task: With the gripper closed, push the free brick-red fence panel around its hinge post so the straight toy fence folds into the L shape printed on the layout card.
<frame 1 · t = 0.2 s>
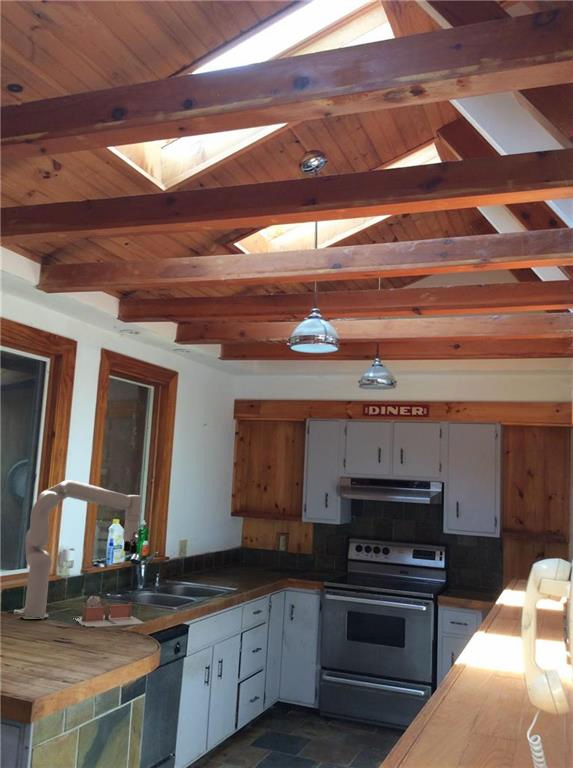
hand: (129, 552, 346), 30 cm above the table, tool pointing down, fingers open, 9 cm apart
fence fixed: (106, 620, 321), resting on layout card
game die: (93, 611, 341), on the table
layout card: (107, 620, 319), on the table
fence panel: (121, 610, 325), point 4 cm above the table, hinge at 0.0°
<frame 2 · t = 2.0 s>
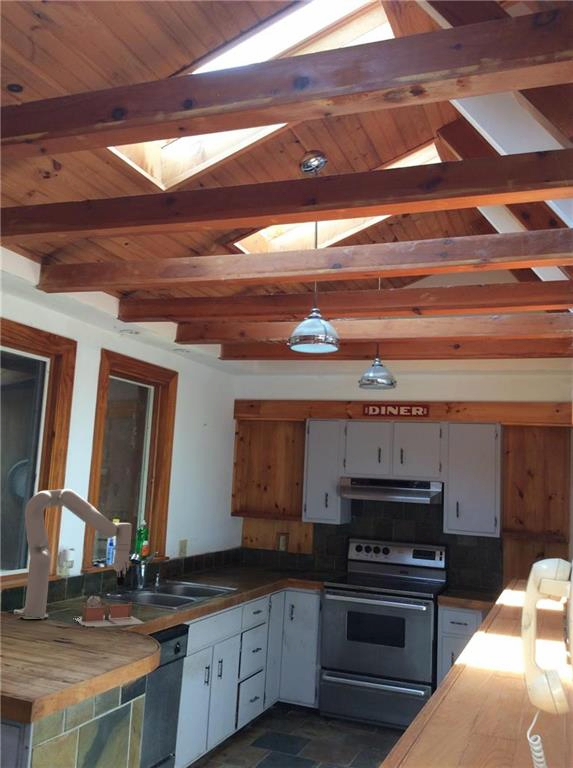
hand: (120, 585, 333), 15 cm above the table, tool pointing down, fingers closed
nothing on the table moved.
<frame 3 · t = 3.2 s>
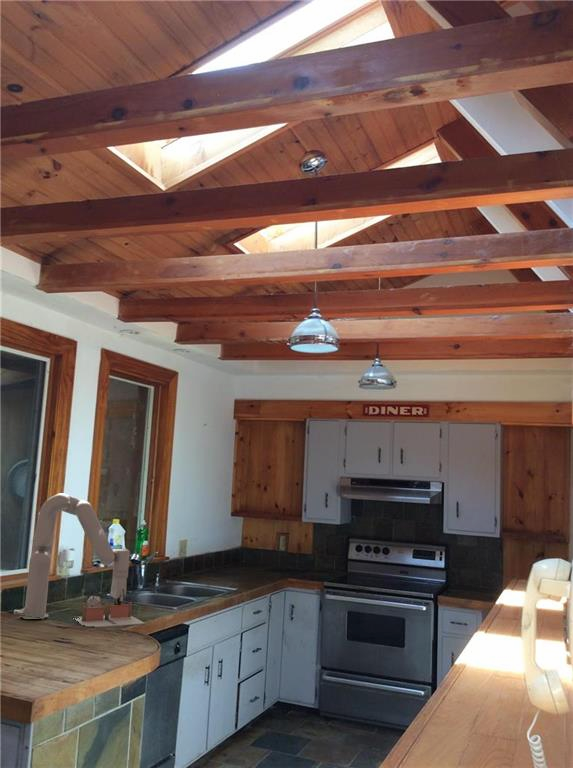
hand: (117, 612, 331), 2 cm above the table, tool pointing down, fingers closed
nothing on the table moved.
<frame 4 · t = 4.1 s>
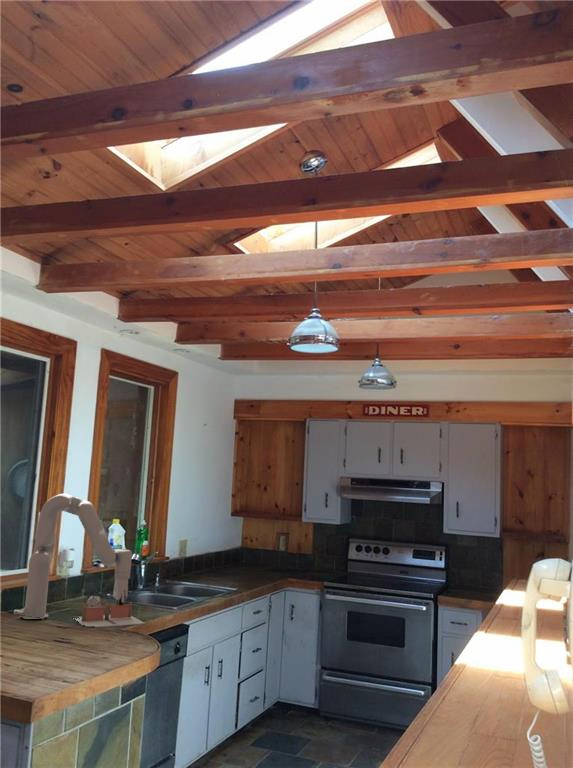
hand: (119, 613, 328), 2 cm above the table, tool pointing down, fingers closed
fence panel: (121, 610, 325), point 4 cm above the table, hinge at 1.3°, touching gripper
everything else where it was.
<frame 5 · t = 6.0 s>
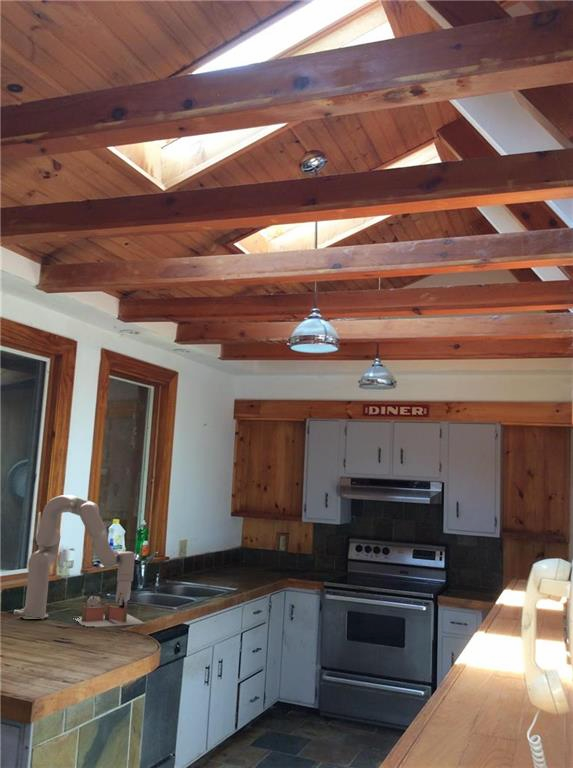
hand: (122, 616, 321), 2 cm above the table, tool pointing down, fingers closed
fence panel: (118, 613, 318), point 4 cm above the table, hinge at 62.3°, touching gripper
everything else where it was.
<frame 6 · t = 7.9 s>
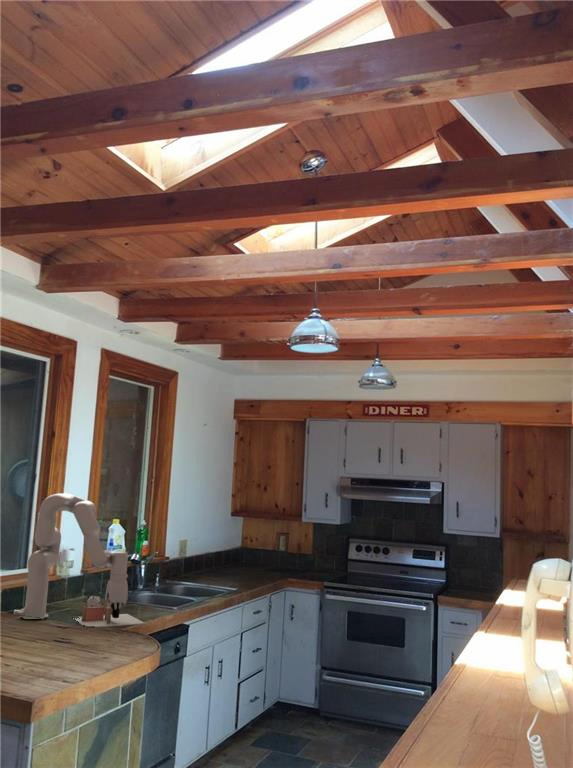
hand: (115, 617, 316), 2 cm above the table, tool pointing down, fingers closed
fence panel: (108, 614, 315), point 4 cm above the table, hinge at 104.8°, touching gripper
everything else where it was.
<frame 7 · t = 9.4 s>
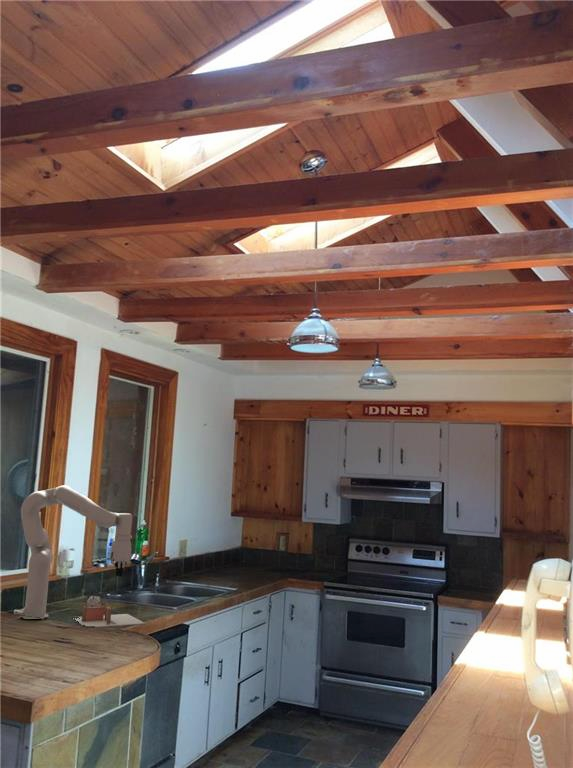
hand: (118, 576, 329), 20 cm above the table, tool pointing down, fingers closed
fence panel: (108, 614, 315), point 4 cm above the table, hinge at 104.9°
everything else where it was.
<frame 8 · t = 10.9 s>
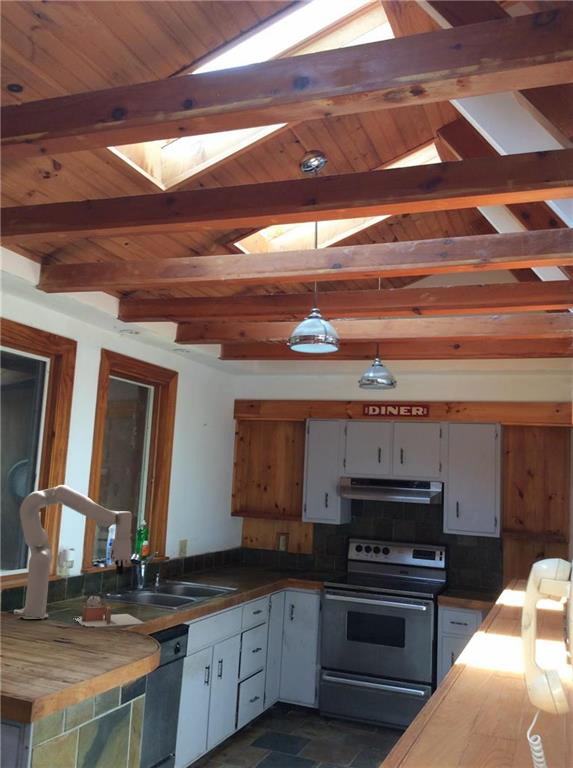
hand: (119, 574, 330), 21 cm above the table, tool pointing down, fingers closed
nothing on the table moved.
at the end: fence panel at +105° (first picture: +0°) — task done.
